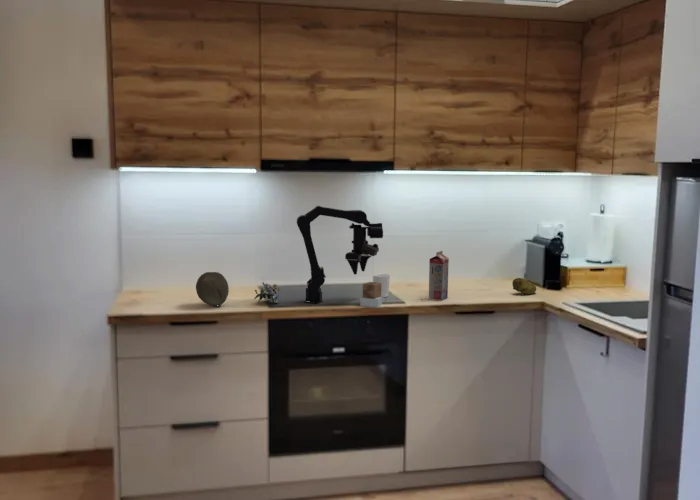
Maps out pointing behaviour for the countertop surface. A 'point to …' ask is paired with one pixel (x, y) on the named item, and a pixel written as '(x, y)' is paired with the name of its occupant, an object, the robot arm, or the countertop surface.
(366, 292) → the walnut cube
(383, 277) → the white cup
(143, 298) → the countertop surface
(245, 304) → the countertop surface
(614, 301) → the countertop surface
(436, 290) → the juice carton
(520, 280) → the potato
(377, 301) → the riser block
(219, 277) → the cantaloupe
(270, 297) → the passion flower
